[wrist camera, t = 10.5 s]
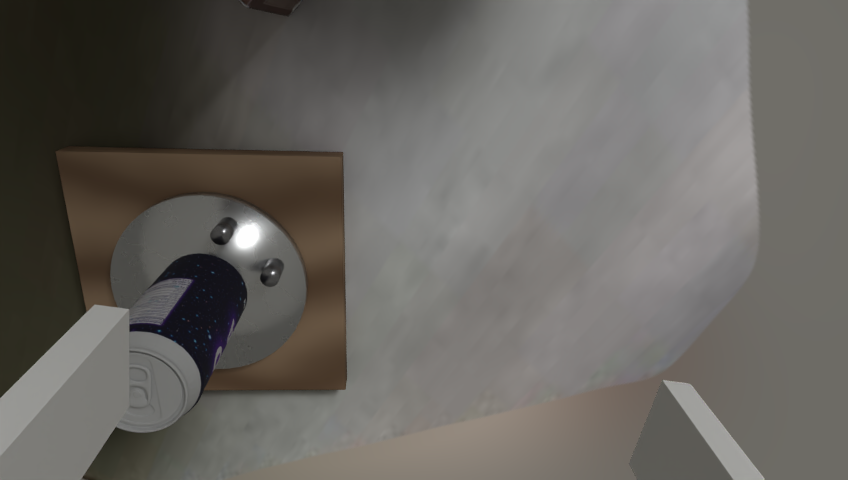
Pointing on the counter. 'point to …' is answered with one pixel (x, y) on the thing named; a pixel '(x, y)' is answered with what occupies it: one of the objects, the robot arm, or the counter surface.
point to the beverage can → (179, 338)
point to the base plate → (243, 178)
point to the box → (272, 5)
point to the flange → (231, 241)
